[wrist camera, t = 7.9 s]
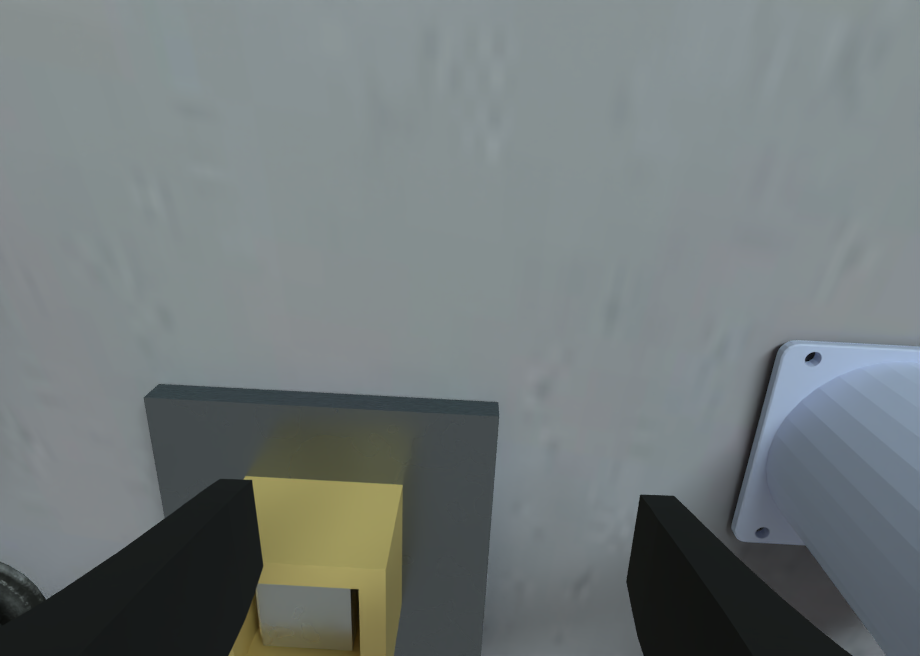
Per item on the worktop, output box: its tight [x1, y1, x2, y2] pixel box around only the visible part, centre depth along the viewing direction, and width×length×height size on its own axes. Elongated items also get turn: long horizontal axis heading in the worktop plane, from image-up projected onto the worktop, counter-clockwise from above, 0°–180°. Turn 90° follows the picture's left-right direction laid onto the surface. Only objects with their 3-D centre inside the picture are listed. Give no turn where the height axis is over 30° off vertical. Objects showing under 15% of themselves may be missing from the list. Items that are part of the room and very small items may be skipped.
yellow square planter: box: [229, 476, 403, 656], centre depth 19 cm, size 6×6×5 cm
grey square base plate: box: [144, 384, 499, 656], centre depth 21 cm, size 12×12×4 cm
